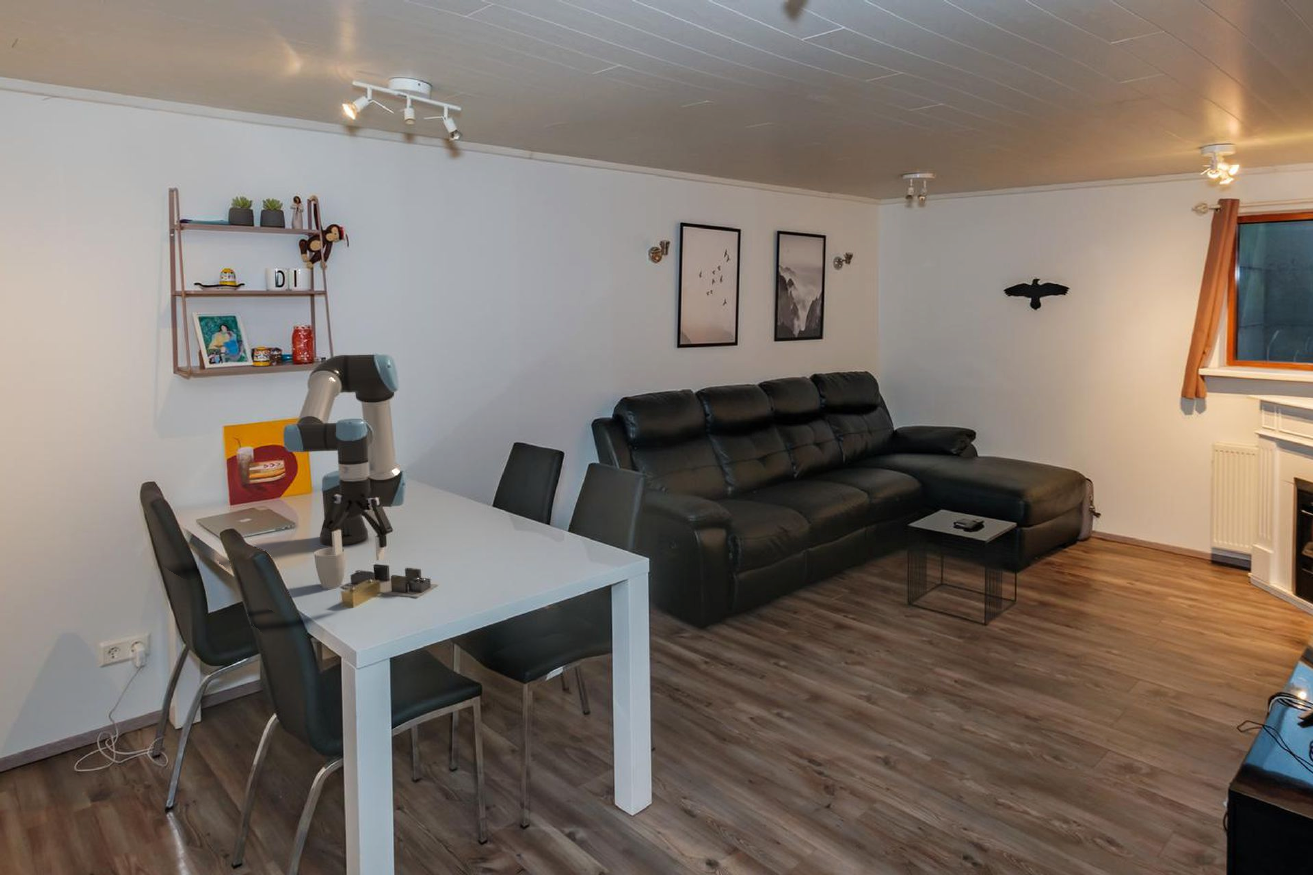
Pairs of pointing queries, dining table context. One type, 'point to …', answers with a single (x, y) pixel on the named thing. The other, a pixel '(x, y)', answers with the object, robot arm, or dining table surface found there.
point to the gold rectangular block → (361, 593)
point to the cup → (330, 567)
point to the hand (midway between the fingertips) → (359, 556)
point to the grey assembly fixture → (394, 579)
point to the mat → (387, 589)
